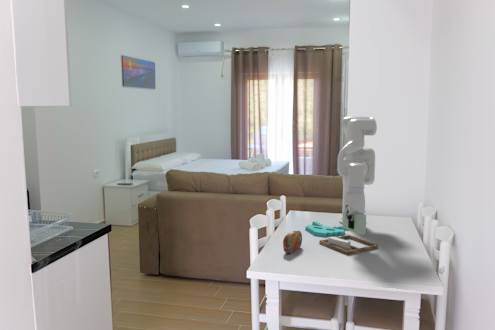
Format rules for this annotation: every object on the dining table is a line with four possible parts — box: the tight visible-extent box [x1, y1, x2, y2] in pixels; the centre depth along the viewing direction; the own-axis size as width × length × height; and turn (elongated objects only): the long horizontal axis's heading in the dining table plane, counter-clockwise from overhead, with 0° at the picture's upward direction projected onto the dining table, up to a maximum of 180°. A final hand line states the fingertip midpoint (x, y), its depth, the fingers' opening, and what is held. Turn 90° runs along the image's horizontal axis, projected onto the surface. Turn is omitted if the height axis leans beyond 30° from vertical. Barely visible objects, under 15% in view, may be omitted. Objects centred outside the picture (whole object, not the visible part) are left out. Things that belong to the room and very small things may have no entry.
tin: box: [282, 230, 303, 254], centre depth 196 cm, size 15×3×8 cm, turn 148°
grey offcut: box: [327, 236, 351, 248], centre depth 200 cm, size 3×10×2 cm, turn 44°
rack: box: [318, 234, 379, 256], centre depth 203 cm, size 19×19×2 cm
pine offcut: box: [329, 243, 351, 251], centre depth 200 cm, size 3×12×2 cm, turn 34°
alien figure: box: [304, 220, 347, 238], centre depth 227 cm, size 20×2×20 cm
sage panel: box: [342, 212, 367, 236], centre depth 204 cm, size 3×12×9 cm, turn 31°
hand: (353, 227), depth 204 cm, fingers closed on sage panel, 3 cm apart
